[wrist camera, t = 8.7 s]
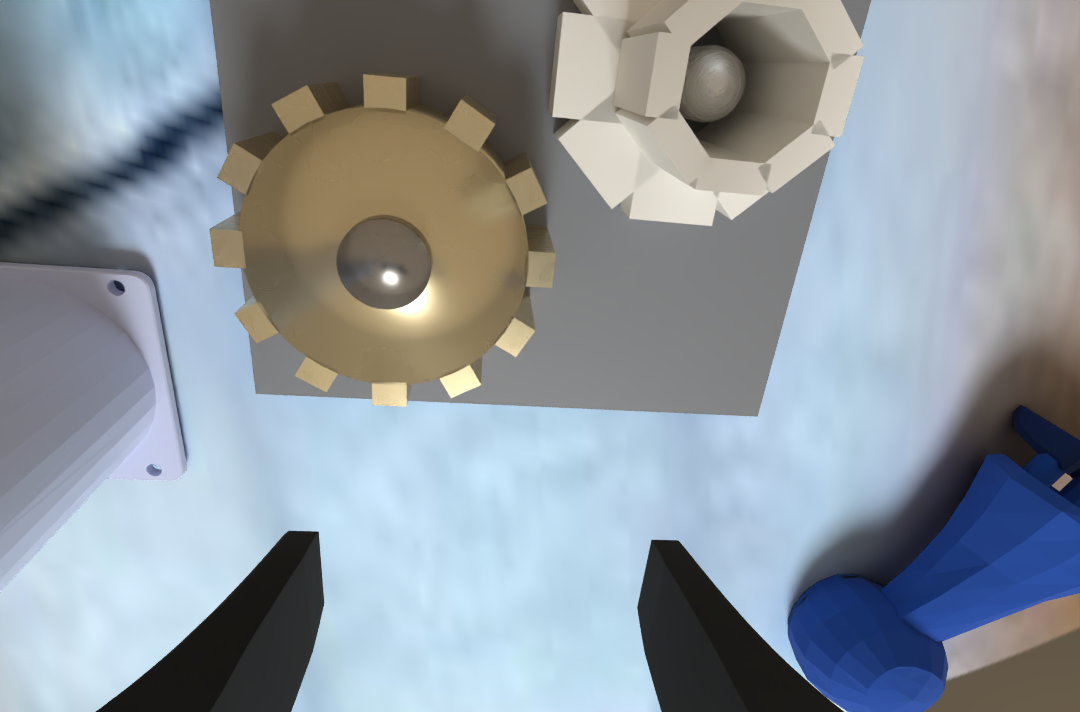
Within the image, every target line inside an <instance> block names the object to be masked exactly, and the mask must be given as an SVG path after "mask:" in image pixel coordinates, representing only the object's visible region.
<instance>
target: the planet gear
mask: <svg viewBox="0 0 1080 712" xmlns="http://www.w3.org/2000/svg"><path fill="white" fill-rule="evenodd" d="M573 1H574V3H575V4H576V6H577V7H578V9H579V10H580V12H581V13H582V14H577V13H568V12H562V13H561V14H560V15H558V19H557V29H556V39H555V49H554V59H553V69H552V79H551V89H550V99H549V109H548V113H549V114H550V115H551V116H552V117H560V118H569V119H570V120H569V121H568V122H567V123H565V124H564V125H563V126H562V127H561V128H560V129H558V130H557V131H556V132H555V133H554V134H555V136H556V137H557V138H558V140H559V141H560V142H561V144H562V145H563V146H564V148H565V149H566V150H567V152H568V153H569V154H570V155H571V157H572V158H573V159H574V161H575V162H576V163H577V165H578V166H579V167H580V169H581V170H582V171H583V173H584V174H585V175H586V176H587V178H588V179H589V180H590V182H591V183H592V184H593V186H594V187H595V188H596V190H597V191H598V192H599V194H600V195H601V196H602V197H603V199H604V200H605V201H606V203H607V204H608V205H609V206H610V208H611V209H613V208H614V207H615V206H617V205H618V204H619V203H620V202H621V205H620V209H621V210H622V211H623V212H624V213H625V214H626V216H627V217H628V218H629V219H638V220H649V221H660V222H671V223H682V224H694V225H705V226H712V223H713V219H714V214H715V210H717V211H719V212H720V213H722V214H723V215H725V216H726V217H728V218H729V219H731V220H732V219H734V218H735V217H736V216H738V215H739V214H740V213H742V212H743V211H744V210H746V209H747V208H748V207H749V206H751V205H752V204H753V203H755V202H756V201H757V200H759V199H760V198H761V197H763V196H764V195H765V194H767V193H768V192H771V193H774V192H775V191H776V190H778V189H779V188H780V187H782V186H783V185H784V184H786V183H787V182H788V181H790V180H791V179H792V178H794V177H795V176H796V175H798V174H799V173H800V172H801V171H803V170H804V169H805V168H807V167H808V166H809V165H811V164H812V163H813V162H815V161H816V160H817V159H819V158H820V157H821V156H823V155H824V154H825V153H826V152H828V151H829V150H830V149H832V148H833V147H834V146H835V145H834V143H833V141H832V140H831V138H830V136H834V137H841V136H842V132H843V129H844V125H845V122H846V119H847V115H848V112H849V108H850V105H851V101H852V98H853V94H854V91H855V88H856V84H857V81H858V77H859V74H860V70H861V67H862V63H863V60H864V56H855V55H853V54H854V53H856V52H857V51H858V50H859V49H861V48H862V47H863V46H864V45H863V43H862V41H861V39H860V37H859V36H858V34H857V32H856V30H855V28H854V26H853V24H852V22H851V20H850V18H849V16H848V14H847V12H846V10H845V8H844V6H843V4H842V2H841V0H573ZM714 25H715V27H716V28H717V30H718V32H719V33H720V35H721V37H722V38H723V40H724V42H725V43H726V45H727V47H728V48H729V50H730V51H732V52H733V53H734V54H735V55H736V56H737V57H738V58H739V60H740V61H741V63H742V65H743V68H744V72H745V88H744V92H743V95H742V97H741V99H740V101H739V103H738V104H737V106H736V107H735V108H734V109H733V110H732V111H731V112H730V113H729V114H728V115H726V116H725V117H723V118H721V119H719V120H717V121H713V122H711V123H709V124H708V125H707V126H706V127H704V128H703V129H702V130H701V131H699V132H698V133H697V134H696V135H695V134H694V133H693V131H692V130H691V128H690V127H689V125H688V124H687V122H686V121H685V119H684V118H683V116H682V115H681V113H680V112H679V108H680V102H681V97H682V91H683V86H684V80H685V75H686V69H687V64H688V58H689V53H690V47H691V45H692V44H693V43H694V42H696V41H697V40H698V39H699V38H700V37H702V36H703V35H704V34H705V33H706V32H707V31H709V30H710V29H711V28H712V27H713V26H714Z"/></svg>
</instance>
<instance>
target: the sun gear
mask: <svg viewBox="0 0 1080 712" xmlns="http://www.w3.org/2000/svg"><path fill="white" fill-rule="evenodd" d="M363 85H364V104H361V105H357V106H353V107H350V106H349V104H348V102H347V100H346V98H345V97H344V95H343V93H342V91H341V89H340V88H339V86H338V84H337V82H330V83H321V84H312V85H306V86H304V87H302V88H301V89H299V90H297V91H295V92H293V93H291V94H289V95H288V96H286V97H284V98H282V99H280V100H278V101H276V102H275V103H273V104H271V105H272V107H273V108H274V110H275V112H276V113H277V115H278V116H279V118H280V120H281V121H282V123H283V125H284V126H285V128H286V129H287V131H288V133H289V134H288V135H287V136H286V137H285V138H283V137H282V136H280V135H279V134H277V133H276V132H274V131H272V132H269V133H266V134H262V135H259V136H256V137H253V138H249V139H246V140H243V141H239V142H236V143H234V144H233V146H232V148H231V150H230V152H229V154H228V156H227V158H226V160H225V163H224V165H223V167H222V169H221V171H220V173H219V175H218V177H217V178H218V179H220V180H222V181H223V182H225V183H227V184H228V185H230V186H232V187H233V188H235V189H237V190H238V191H240V192H242V193H243V194H245V198H244V202H243V206H242V210H241V211H240V212H238V213H236V214H235V215H233V216H231V217H229V218H228V219H226V220H224V221H222V222H221V223H219V224H217V225H216V226H214V227H212V228H210V237H211V244H212V251H213V259H214V266H216V267H231V268H243V269H244V272H245V275H246V278H247V281H248V284H249V287H250V289H251V291H252V293H253V296H252V297H251V298H250V299H249V300H248V301H247V302H246V303H245V304H244V305H243V306H242V307H241V308H240V309H239V310H238V311H237V312H235V313H234V314H235V315H236V317H237V318H238V319H239V321H240V322H241V323H242V325H243V326H244V327H245V329H246V330H247V331H248V333H249V334H250V335H251V337H252V338H253V339H254V341H255V342H256V343H259V342H261V341H263V340H265V339H267V338H269V337H271V336H273V335H275V334H277V333H280V334H281V335H282V336H283V337H284V338H285V339H286V340H287V341H288V342H289V343H290V344H291V345H292V346H293V347H294V348H296V349H297V350H298V351H300V352H301V353H302V354H304V355H305V356H306V358H305V359H304V361H303V363H302V364H301V366H300V368H299V369H298V371H297V373H296V374H295V376H296V377H298V378H300V379H302V380H304V381H306V382H307V383H309V384H311V385H313V386H315V387H317V388H319V389H321V390H323V391H325V392H327V391H328V389H329V388H330V386H331V384H332V383H333V381H334V380H335V378H336V376H337V375H338V374H340V375H343V376H346V377H349V378H352V379H355V380H360V381H365V382H369V383H372V405H386V406H407V403H408V399H409V395H410V391H411V387H412V384H417V383H424V382H428V381H432V380H436V379H440V381H441V382H442V384H443V385H444V387H445V389H446V390H447V392H448V394H449V395H450V397H451V398H453V397H455V396H457V395H459V394H462V393H464V392H466V391H468V390H471V389H473V388H475V387H477V386H480V385H481V377H482V356H483V355H484V354H485V353H486V352H487V351H488V350H489V349H491V348H492V347H493V346H494V345H496V346H498V347H500V348H501V349H503V350H505V351H506V352H508V353H510V354H511V355H513V356H515V357H516V356H517V355H518V354H519V352H520V351H521V350H522V348H523V347H524V346H525V344H526V343H527V342H528V340H529V339H530V337H531V336H532V335H533V333H534V332H535V324H534V318H533V311H532V304H531V298H530V295H528V294H527V293H525V292H524V291H525V288H526V286H529V287H544V288H552V284H553V274H554V265H555V255H556V252H555V249H554V246H553V243H552V240H551V237H550V234H549V231H548V227H542V226H528V225H525V221H524V216H523V215H524V214H526V213H528V212H530V211H532V210H534V209H536V208H539V207H541V206H543V205H545V204H547V201H546V198H545V196H544V193H543V190H542V188H541V185H540V183H539V180H538V178H537V176H536V174H535V172H534V169H533V167H532V165H531V163H530V161H529V158H528V156H527V154H526V153H524V154H522V155H520V156H518V157H516V158H514V159H512V160H510V161H508V162H506V163H503V162H502V160H501V159H500V158H499V156H498V155H497V153H496V152H495V151H494V149H493V148H492V147H491V146H490V145H489V144H488V143H487V142H486V141H485V140H486V139H487V137H488V135H489V134H490V132H491V131H492V129H493V128H494V126H495V124H496V115H494V114H493V113H492V112H490V111H489V110H488V109H486V108H485V107H483V106H482V105H481V104H479V103H478V102H477V101H475V100H474V99H473V98H471V97H470V96H468V95H467V94H466V95H465V96H464V97H463V98H462V99H461V100H460V102H459V104H458V105H457V107H456V109H455V110H454V112H453V114H452V115H448V114H446V113H444V112H442V111H440V110H437V109H435V108H431V107H428V106H425V105H421V104H420V76H414V75H403V74H393V73H372V74H363Z"/></svg>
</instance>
